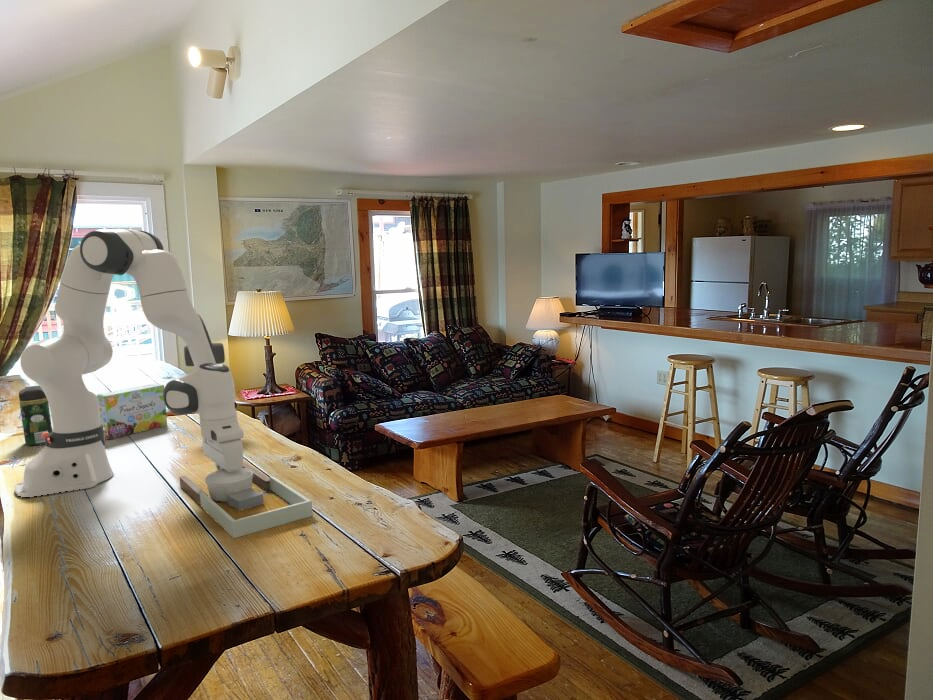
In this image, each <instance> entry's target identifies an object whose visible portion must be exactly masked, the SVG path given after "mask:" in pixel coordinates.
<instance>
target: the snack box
mask: <svg viewBox="0 0 933 700" xmlns="http://www.w3.org/2000/svg"><path fill="white" fill-rule="evenodd" d="M164 388H165V384H158V383H151V384H146V385H142V386H141V385H140V386H135V387H131V388H125V389H119V390H114V391H108V392H102V393H98V394H96V396H97V398H98V401H99V410H100V419H101V424H102V425H103V428H104V433H105V438H107V439H106V440H108V439H110V440H113V439H112V438H114V439H117V437H118V438H121V436H122V437H126V436H129V435H128V434H130V435H133V434H132V433H135V434H137V433H136V432H139V433H141V431H143V432H146V430H147V431H150V429H151V430H154V428H155V429H158V428H163V427H165V426H166V427H167V426H168V419H167V418H168V416H167V407H166V405H165V403H164V399H163V392H164ZM125 435H126V436H125Z"/></svg>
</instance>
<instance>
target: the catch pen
mask: <svg viewBox="0 0 933 700" xmlns="http://www.w3.org/2000/svg"><path fill="white" fill-rule="evenodd" d="M268 478H269V479H270V490H269V491H271V490H272V491H273V493H274V492H275V493H276V494H275V493H274V494H275V495H276V496H278V495H279V496H278V497H279V498H281V497H282V498H281V499H283V500H284V499H285V500H284V501H286V502H287V501H288V502H289V503H288V502H287V503H288V504H289V505H286V506H282V507H278V508H275V509H272V510H268V511H264V512H260V513H255V514H253V515H249V516H245V517H241V518H237V519H235V518H234V517H232V516H231V515H230V514H229V513H227V511H225V510H224V509H223V508H222V507H221V506H220V505H218V504H217V503H216V501H215V500H213V499H212V498H211V497H210V496H209V495H208V494H207V493H206V492H205V491H204V492H205V493H206V494H207V495H208V496H207V495H206V494H205V493H204V492H202V493H200V501H201V505H200V507H203V508H204V509H205V510H206V511H207V512H208V513H209V514H210V515H211V516H212V517H213V518H214V519H215V520H216V521H217V522H218V523H219V524H220V525H221V526H222V527H223V528H224V529H223V528H222V527H221V526H220V525H219V524H218V523H217V522H216V521H215V520H214V519H213V518H212V517H211V516H210V515H209V514H208V513H207V512H206V511H205V512H206V513H207V514H208V515H209V516H210V517H211V518H212V519H213V520H214V521H215V522H216V523H217V524H218V525H219V526H220V527H221V528H222V529H223V530H224V531H225V532H227V534H228V535H229V536H231V537H232V538H233V539H235V538H239V537H243V536H246V535H250V534H254V533H257V532H261V531H265V530H268V529H272V528H275V527H278V526H281V525H285V524H289V523H292V522H295V521H300V520H303V519H306V518H310V517H313V502H312V501H313V500H311V499H309V498H308V497H306V496H305V495H303V494H301V493H300V492H298V491H296V490H295V489H294V488H293V487H291V486H289V485H287V484H286V483H284V482H282V481H281V480H280V479H278V478H276V477H275V476H273V475H270V476H269V477H268ZM272 491H271V492H272Z"/></svg>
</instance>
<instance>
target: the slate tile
mask: <svg viewBox="0 0 933 700" xmlns="http://www.w3.org/2000/svg"><path fill="white" fill-rule="evenodd" d="M227 501H228V502H227V506H229V505H230V507H231V506H232V508H233V507H234V508H233V509H235V508H236V509H235V510H237V509H238V510H237V511H239V510H241V511H243V510H242V509H245V510H247V509H246V508H248V509H251V508H254V507H257V505H258V506H261V505H263V503H264V494H263V493H262V492H259V491H257V490H255V489H253V488H252V489H251V488H250V489H247V490H243V491H240V492H236V493H233V494H229V495H227ZM260 504H261V505H260ZM250 507H251V508H250Z"/></svg>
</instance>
